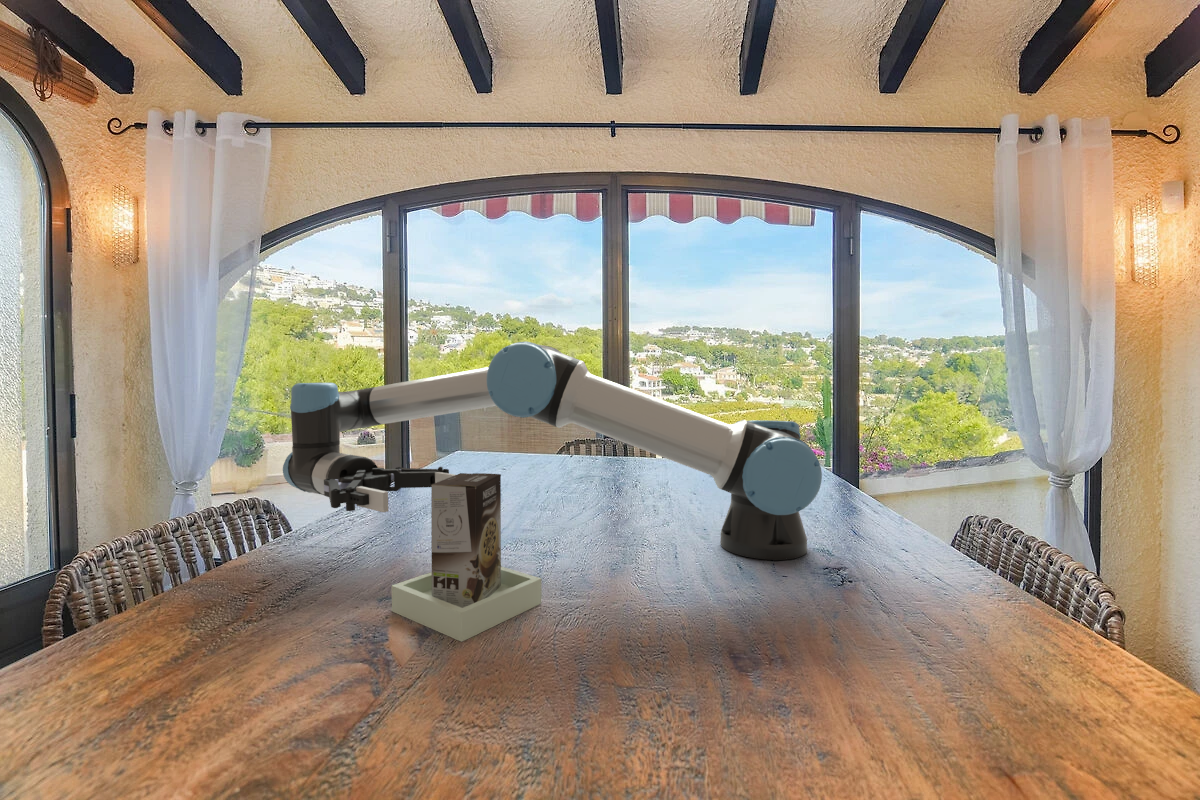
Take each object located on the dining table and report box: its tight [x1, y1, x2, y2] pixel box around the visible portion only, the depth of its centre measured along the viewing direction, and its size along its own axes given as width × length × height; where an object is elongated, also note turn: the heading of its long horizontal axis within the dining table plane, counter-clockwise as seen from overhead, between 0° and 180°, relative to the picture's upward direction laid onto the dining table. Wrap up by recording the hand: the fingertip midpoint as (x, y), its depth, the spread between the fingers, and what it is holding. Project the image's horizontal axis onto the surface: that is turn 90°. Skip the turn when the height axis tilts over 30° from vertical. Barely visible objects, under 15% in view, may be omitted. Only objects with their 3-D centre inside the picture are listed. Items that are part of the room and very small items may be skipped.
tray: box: [391, 565, 543, 643], centre depth 78 cm, size 14×14×4 cm
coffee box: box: [430, 472, 502, 608], centre depth 78 cm, size 9×6×16 cm
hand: (427, 493), depth 84 cm, fingers open, 13 cm apart
